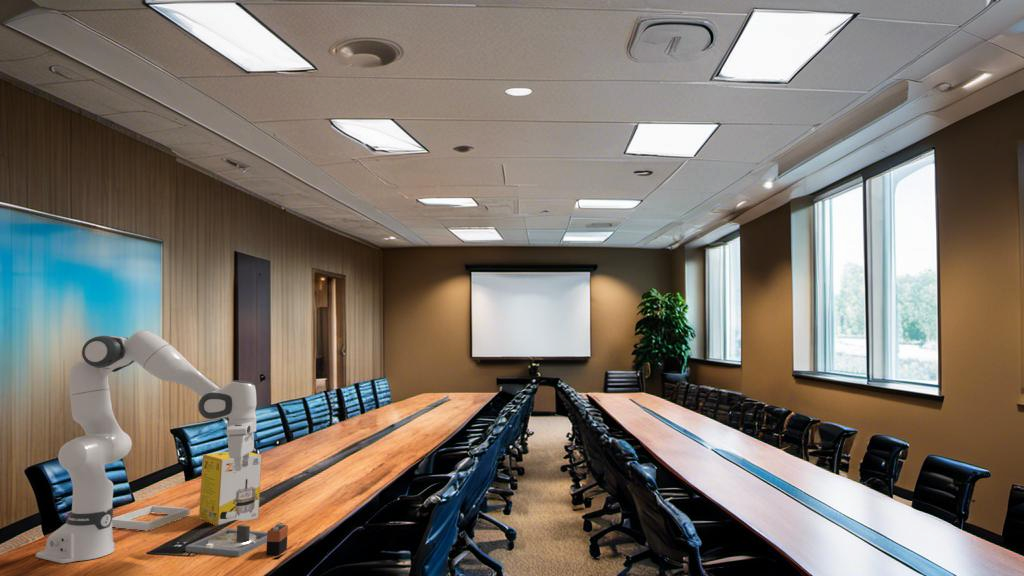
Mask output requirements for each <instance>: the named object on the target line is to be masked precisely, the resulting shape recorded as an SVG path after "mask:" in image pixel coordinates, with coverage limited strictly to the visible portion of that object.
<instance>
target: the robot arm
mask: <svg viewBox="0 0 1024 576" xmlns="http://www.w3.org/2000/svg"><path fill="white" fill-rule="evenodd" d="M81 356H82V359H83V360H81V361H78V362H76V363H75V364H73V366H71V368H70V371H69V381H68V382H69V385H68V386H69V388H68V389H69V398H70V406H71V409H70V410H71V416H72V419H73V420H74V422H76V423H77V424H79V425H80V426H81V427H82V429H83V431H84V433H85V435H82V436H78V437H76V438H73V439H71V440H69V441H67V442H65V443H64V444H63V445H62V446H61V448H60V449H59V451H58V455H57V458H58V463H59V465H60V466H61V468H63V469H64V470H66V472H67V473H68V474H69V477H70V480H71V484H72V502H71V504H72V505H71V511H69V512H67V513H64V517H63V518H67V519H66V521H65V523H64V524H63V525H61V526H60V527H59V528H58V529H56V530H55V531H53V532H52V533H51V534H49V536H48V538H47V540H46V542H45V543H46V544H45V548H43V549H42V550H40V551H37V552H36V553H35V557H36V558H39V559H43V560H48V561H49V562H55V563H59V564H67V563H72V562H73V563H74V562H78V561H79V562H82V561H88V560H93V559H98V558H101V557H106V556H107V555H108V556H109V555H110V554H112V553H114V552H115V550H116V549H115V542H114V538H113V537H114V535H113V534H114V533H113V530H114V528H112V522H111V521H112V518H114V506H113V496H114V486H115V485H114V483H113V481H112V480H110V479H109V478H108V477H107V474H106V468H105V467H106V465H109V464H113V463H116V462H118V461H119V460H122V459H124V458H125V457H126V456H127V455H128V454H130V452H131V449H132V445H133V443H132V439H131V437H130V435H129V434H127V432H125V431H123V429H122V428H121V427H120V426H121V425H119V422H118V421H117V419H116V417H115V414H114V411H113V406H112V405H113V404H112V400H111V399H112V398H111V392H110V391H111V390H110V384H109V376H110V374H111V373H116V372H118V371H120V370H122V369H124V368H126V367H129V366H130V365H132V364H133V363H137V364H138V365H139V366H140V367H142V368H143V369H144V370H145V371H146V372H148V373H149V374H150V375H152V376H154V377H155V378H157V379H160V380H161V381H164V382H171V383H176V384H179V385H182V386H184V387H187V388H188V389H190V390H191V391H192V392H194V393H195V394H197V395H198V396H199V397H200V399H199V401H198V406H197V408H198V412H199V414H200V415H201V416H202V417H204V418H205V419H207V420H220V419H228V425H227V428H226V431H225V433H226V436H228V437H227V446H228V447H227V449H228V451H227V452H229V457H230V458H234V463H235V471H240V470H242V466H243V467H247V466H248V465H249V457H250V452H252V453H253V452H254V450H255V434H254V433H255V432H257V414H256V409H257V404H258V403H257V390H256V389H257V388H256V385H255V384H254V383H253V382H251V381H247V380H237V379H235V380H231V382H229V383H228V384H227V385H224V386H223V387H221V386H219V385H218V384H217V383H215V382H213V381H212V380H211V379H210V378H208V377H207V376H206V375H204V374H203V373H201V372H200V371H199V370H198V369H197V368H196V367H194V365H192V363H190V361H188V360H187V359H186V358H185V357H184V356H183V355H182V353H180V352H179V351H178V350H177V349H176V348H175V347H174V346H173V345H172V344H170V343H169V342H168V341H166V340H165V339H164V338H161V336H159V335H157V334H156V333H154V332H151V331H149V330H145V329H144V330H139V331H137V332H134V333H133V334H132V335H131V336H129V337H124V336H119V335H98V336H94V337H92V338H90V339H88V340H87V341H85V343H84V345H82V350H81ZM242 457H243V462H242V465H241V460H242Z"/></svg>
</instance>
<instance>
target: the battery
mask: <svg viewBox="0 0 1024 576" xmlns="http://www.w3.org/2000/svg"><path fill="white" fill-rule="evenodd" d="M288 530H289V525H287V524H284V523H283V522H278V523H277V522H276V525H274V526H273V527H271V528H269V529H268V530H267V531H266V532H267V543H266V552H265V553H266V555H265V556H267V557H268V556H270V557H271V556H272V557H273V558H272V560H279V559H281V558H282V557H283V556H284V555H285V553H284V552H285V551H287V549H288V533H289V532H288Z"/></svg>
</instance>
